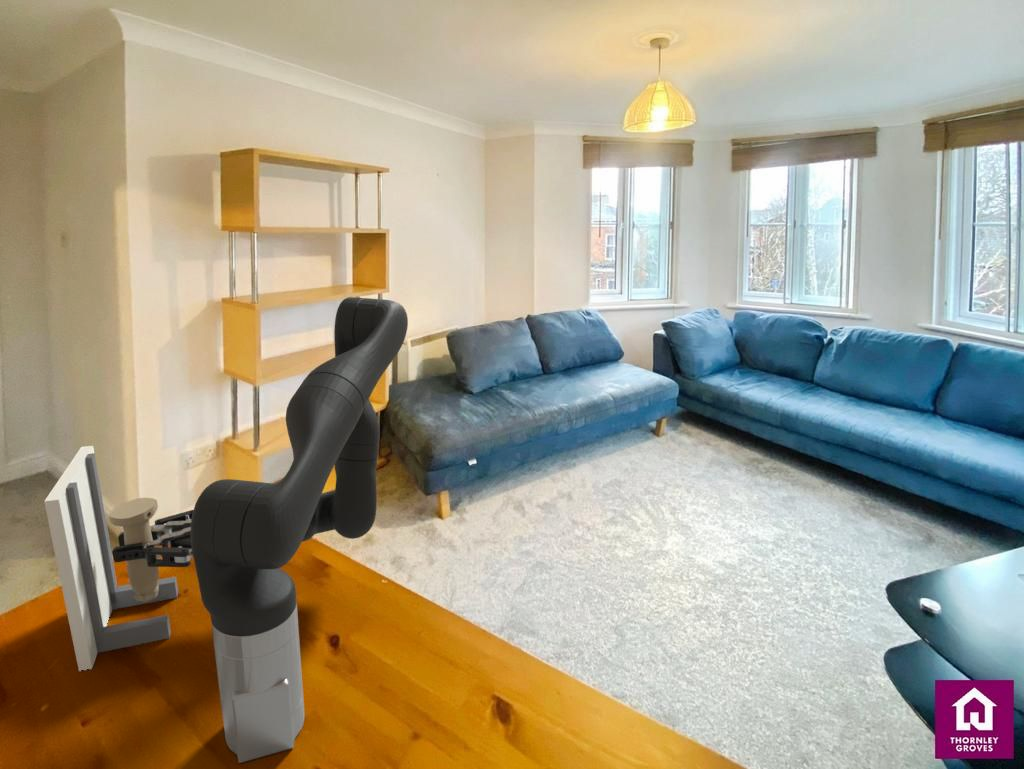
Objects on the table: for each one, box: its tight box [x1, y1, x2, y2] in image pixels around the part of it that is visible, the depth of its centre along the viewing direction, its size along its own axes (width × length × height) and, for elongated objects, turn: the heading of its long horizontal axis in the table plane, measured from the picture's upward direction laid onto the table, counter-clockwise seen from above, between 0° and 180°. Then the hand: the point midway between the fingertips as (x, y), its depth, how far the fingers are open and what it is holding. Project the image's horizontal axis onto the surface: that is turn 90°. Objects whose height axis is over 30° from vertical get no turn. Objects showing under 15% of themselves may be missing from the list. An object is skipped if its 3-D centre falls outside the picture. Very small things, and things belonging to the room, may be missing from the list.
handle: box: [108, 497, 160, 602], centre depth 89 cm, size 5×6×15 cm
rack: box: [44, 445, 179, 672], centre depth 88 cm, size 18×10×26 cm, turn 23°
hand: (117, 547), depth 87 cm, fingers closed on handle, 3 cm apart
